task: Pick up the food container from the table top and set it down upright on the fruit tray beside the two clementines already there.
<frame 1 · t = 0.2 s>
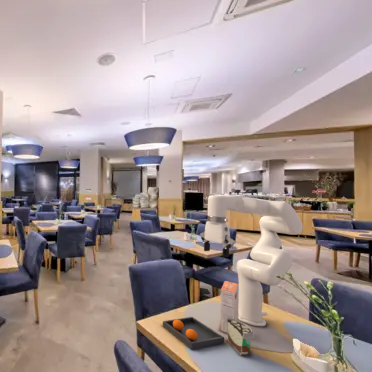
hand: (215, 253, 116), 37 cm above the table, tool pointing down, fingers open, 9 cm apart
clementine 1: (191, 334, 104), point 3 cm above the table, touching fruit tray
fruit tray: (191, 334, 109), on the table
food container: (242, 349, 100), on the table
clementine 2: (178, 325, 112), point 3 cm above the table, touching fruit tray
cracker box: (229, 328, 115), on the table
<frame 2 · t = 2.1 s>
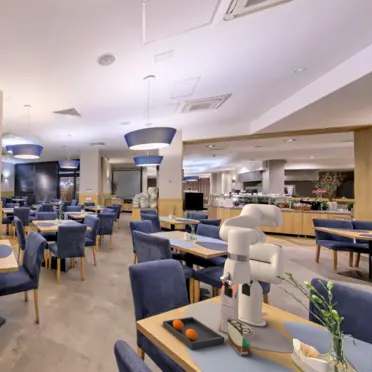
hand: (237, 295, 103), 22 cm above the table, tool pointing down, fingers open, 9 cm apart
nothing on the table moved.
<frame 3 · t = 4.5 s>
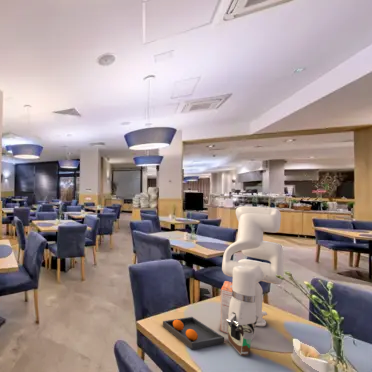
hand: (242, 336, 100), 5 cm above the table, tool pointing down, fingers closed on food container, 7 cm apart
food container: (242, 349, 100), on the table, touching gripper
everything else where it was.
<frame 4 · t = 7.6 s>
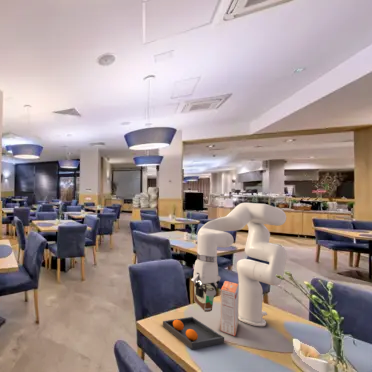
hand: (205, 295, 109), 19 cm above the table, tool pointing down, fingers closed on food container, 7 cm apart
food container: (206, 307, 109), point 13 cm above the table, touching gripper
everything else where it was.
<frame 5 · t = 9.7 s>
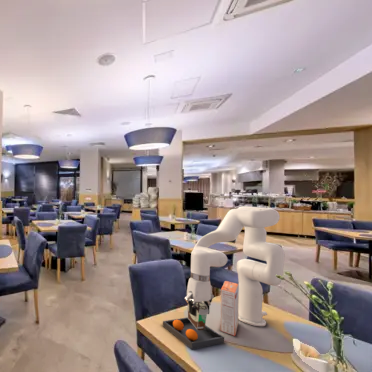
hand: (199, 313, 110), 10 cm above the table, tool pointing down, fingers closed on food container, 7 cm apart
food container: (199, 325, 110), point 4 cm above the table, touching gripper
everything else where it was.
when the fingers open (6 cm above the table, at t = 11.2 s): food container stays where it is, resting on fruit tray.
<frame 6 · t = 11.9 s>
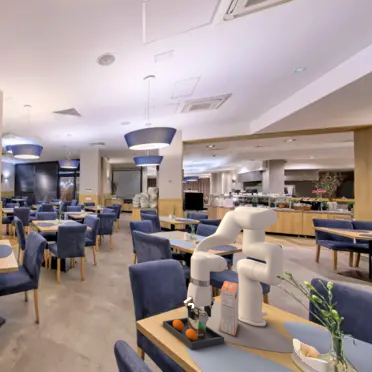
hand: (199, 317, 110), 8 cm above the table, tool pointing down, fingers open, 9 cm apart
food container: (199, 332, 110), resting on fruit tray
everything else where it was.
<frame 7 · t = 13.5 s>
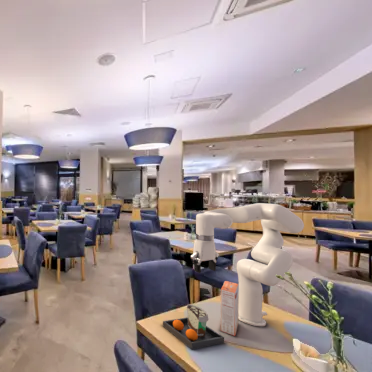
hand: (204, 270, 118), 27 cm above the table, tool pointing down, fingers open, 9 cm apart
nothing on the table moved.
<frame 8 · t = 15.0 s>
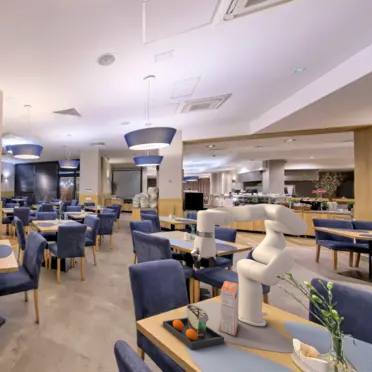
hand: (204, 267, 120), 28 cm above the table, tool pointing down, fingers open, 9 cm apart
nothing on the table moved.
at the end: food container inside the target area in the fruit tray (4.3 cm from its centre), point 0.4 cm above the fruit tray's base; food container tilted 0°; clementine 1 moved 0.0 cm from its start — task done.
